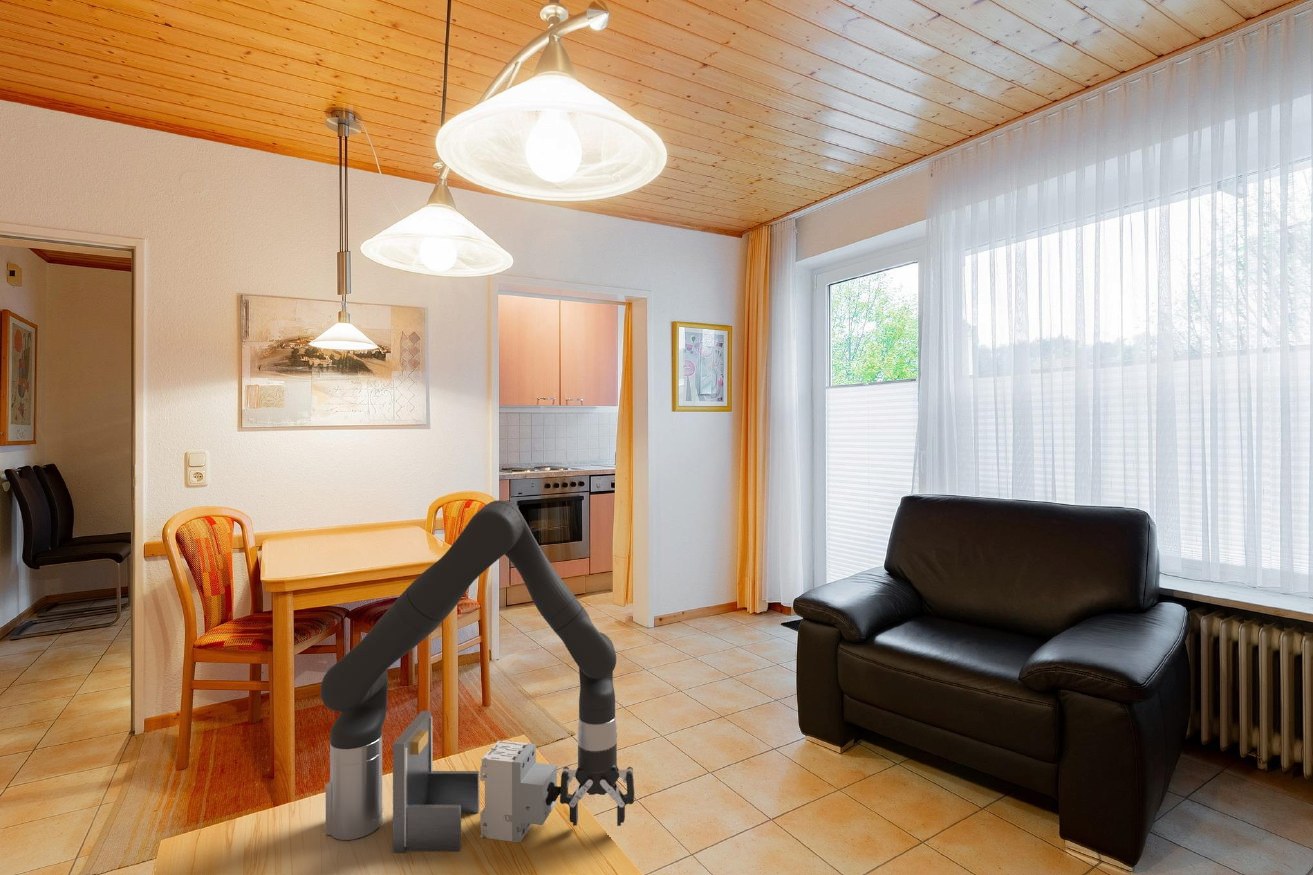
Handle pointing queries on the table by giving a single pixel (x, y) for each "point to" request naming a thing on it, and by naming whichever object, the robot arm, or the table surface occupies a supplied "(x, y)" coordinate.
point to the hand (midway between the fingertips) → (597, 823)
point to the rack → (428, 794)
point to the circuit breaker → (515, 791)
